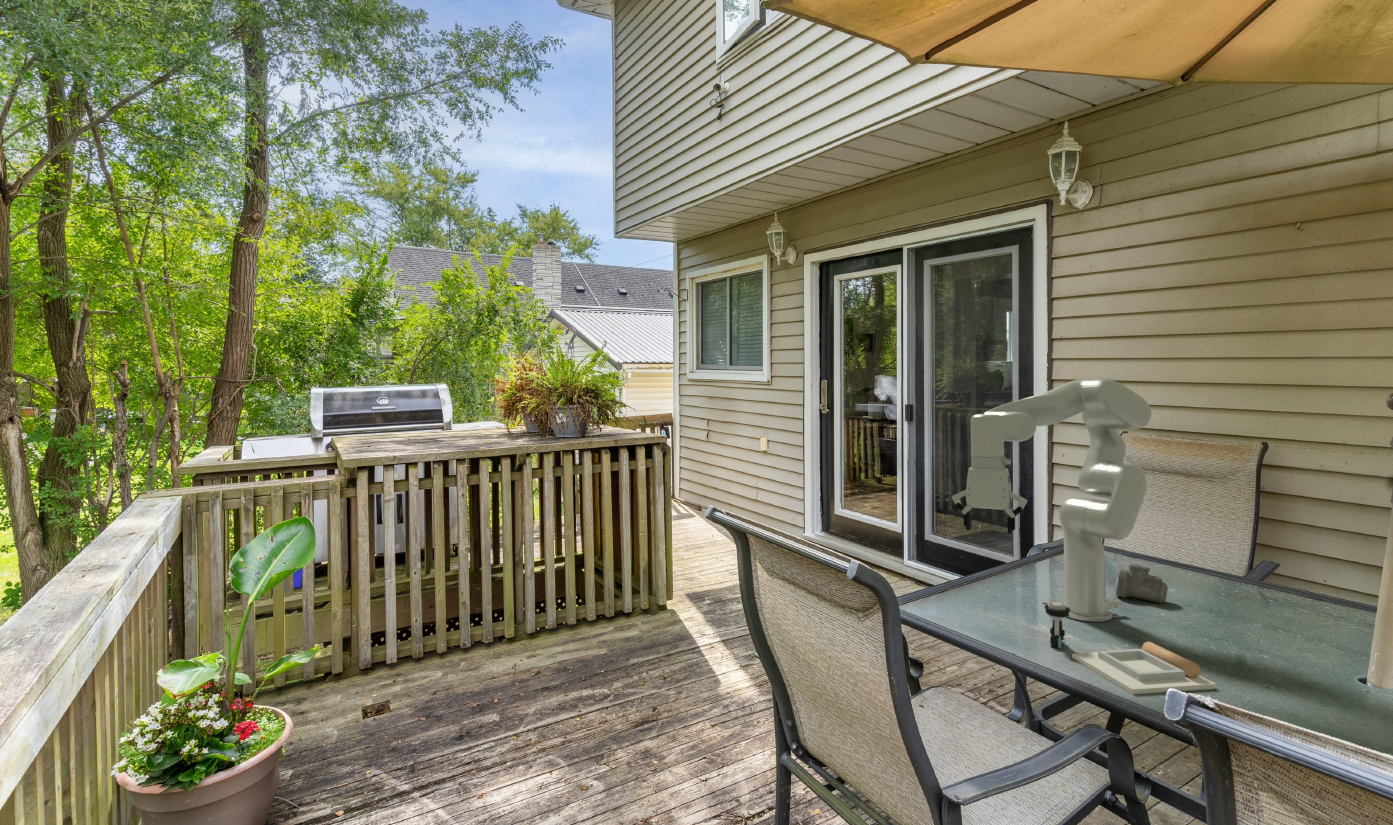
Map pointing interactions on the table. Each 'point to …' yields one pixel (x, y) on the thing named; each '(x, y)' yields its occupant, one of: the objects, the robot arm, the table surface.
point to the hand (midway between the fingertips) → (989, 530)
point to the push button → (1057, 622)
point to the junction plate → (1146, 669)
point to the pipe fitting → (1140, 584)
